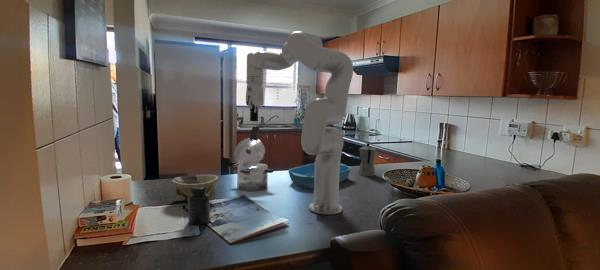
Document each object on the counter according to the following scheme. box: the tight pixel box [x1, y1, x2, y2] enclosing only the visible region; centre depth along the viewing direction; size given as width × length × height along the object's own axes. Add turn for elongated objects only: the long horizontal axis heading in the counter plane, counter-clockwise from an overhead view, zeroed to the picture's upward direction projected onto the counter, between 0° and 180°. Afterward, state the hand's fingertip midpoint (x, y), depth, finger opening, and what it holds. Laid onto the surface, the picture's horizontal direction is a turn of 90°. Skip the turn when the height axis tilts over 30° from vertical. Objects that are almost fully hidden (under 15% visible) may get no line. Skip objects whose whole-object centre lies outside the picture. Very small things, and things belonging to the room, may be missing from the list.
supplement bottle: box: [187, 185, 211, 226], centre depth 109 cm, size 7×7×12 cm
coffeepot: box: [357, 142, 377, 177], centre depth 182 cm, size 15×9×18 cm, turn 175°
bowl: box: [171, 174, 219, 203], centre depth 130 cm, size 18×18×10 cm
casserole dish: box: [288, 162, 352, 190], centre depth 166 cm, size 37×22×7 cm, turn 140°
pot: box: [232, 162, 274, 192], centre depth 151 cm, size 15×20×10 cm
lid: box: [233, 126, 266, 168], centre depth 148 cm, size 20×15×2 cm
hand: (253, 121), depth 151 cm, fingers closed
